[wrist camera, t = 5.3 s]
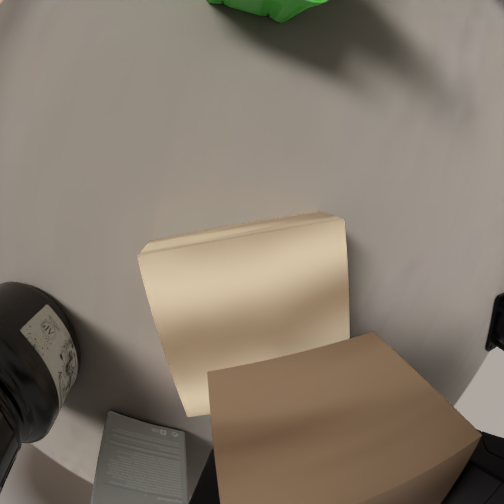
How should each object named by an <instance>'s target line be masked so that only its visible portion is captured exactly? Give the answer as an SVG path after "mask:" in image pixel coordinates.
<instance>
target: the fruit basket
mask: <svg viewBox="0 0 504 504" xmlns="http://www.w3.org/2000/svg"><path fill="white" fill-rule="evenodd" d="M206 1H207V2H209V3H213V4H222V3H224V4H225V5H227V6H229V7H231V8H234V9H238V10H242V11H245V12H249V13H252V14H256V15H259V16H267V15H268V16H269V17H270V18H272V19H274V20H275V21H278V22H282V23H283V22H285V21H287V20H289V19H290V18H292V17H294V16H295V15H297V14H299V13H301V12H302V11H304V10H306V9H308V8H310V7H315V6H318V5H320V4H323V3H325V2H327V1H328V0H206Z"/></svg>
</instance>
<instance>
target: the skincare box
mask: <svg viewBox="0 0 504 504" xmlns="http://www.w3.org/2000/svg"><path fill="white" fill-rule="evenodd" d="M189 502H190V499H189V488H188V475H187V460H186V439H185V432H183V431H179V430H175V429H171V428H166V427H162V426H157V425H153V424H149V423H145V422H142V421H139V420H136V419H133V418H129V417H126V416H123V415H120V414H118V413H115V412H113V411H109V412H108V413H107V417H106V422H105V426H104V431H103V436H102V441H101V446H100V451H99V456H98V461H97V467H96V473H95V479H94V485H93V492H92V499H91V504H189Z"/></svg>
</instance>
